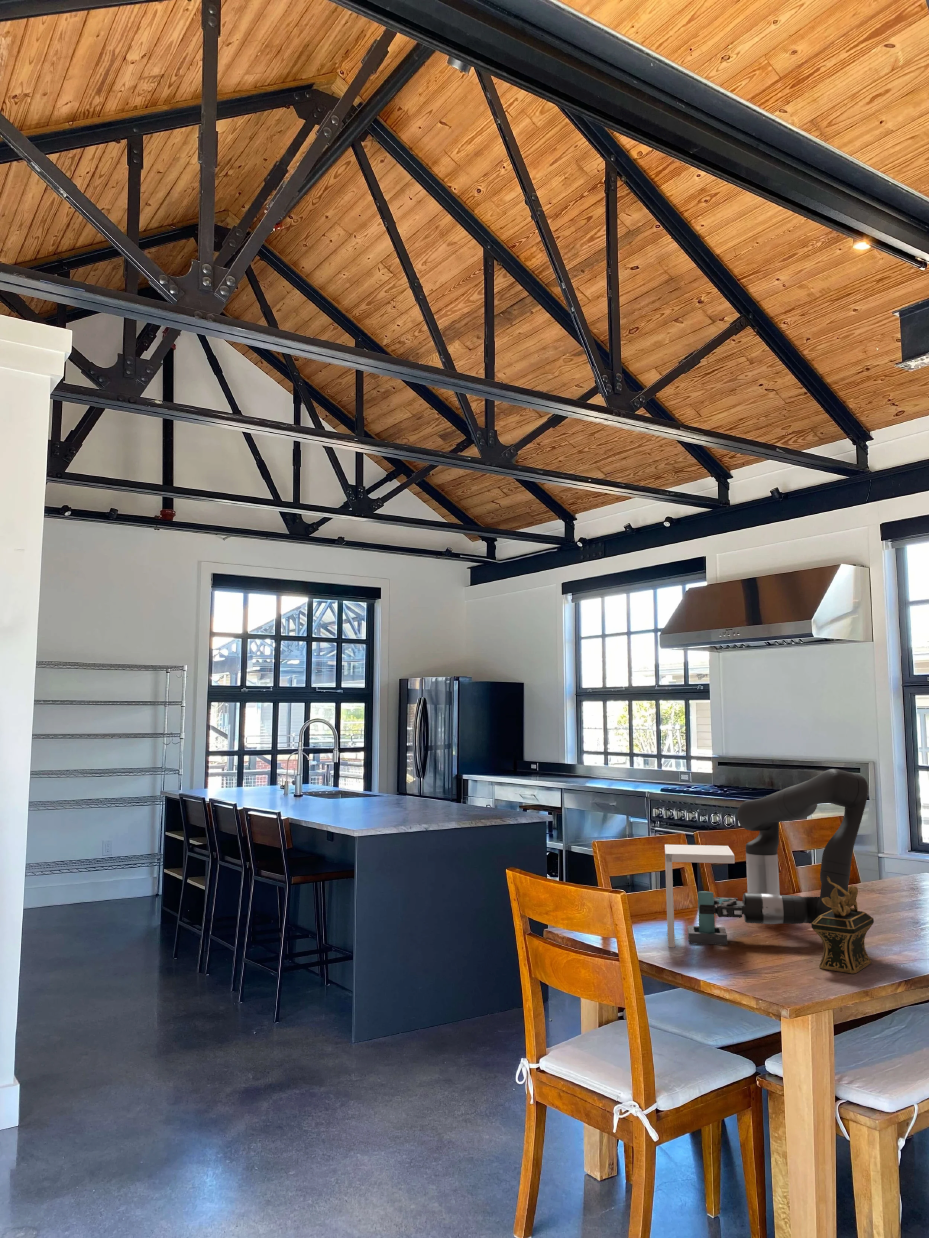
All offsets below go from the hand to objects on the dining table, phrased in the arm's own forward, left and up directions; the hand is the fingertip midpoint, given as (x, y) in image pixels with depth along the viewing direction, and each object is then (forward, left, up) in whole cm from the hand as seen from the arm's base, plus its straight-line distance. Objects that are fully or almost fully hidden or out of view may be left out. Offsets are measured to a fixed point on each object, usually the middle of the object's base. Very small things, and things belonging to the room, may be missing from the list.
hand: (698, 906), depth 232 cm
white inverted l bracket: (0, 0, -8) cm, 9 cm away
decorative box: (+22, +31, -9) cm, 39 cm away
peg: (0, +2, -8) cm, 9 cm away
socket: (0, +2, -8) cm, 9 cm away
